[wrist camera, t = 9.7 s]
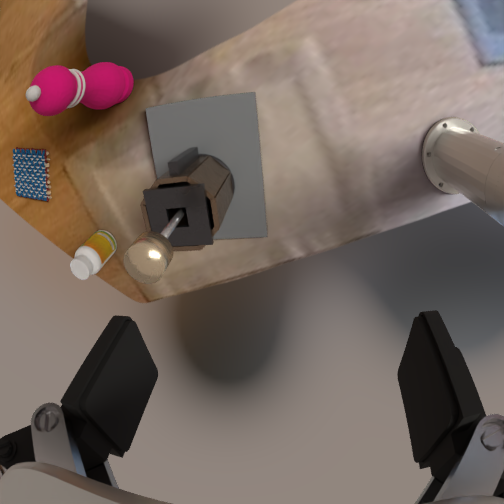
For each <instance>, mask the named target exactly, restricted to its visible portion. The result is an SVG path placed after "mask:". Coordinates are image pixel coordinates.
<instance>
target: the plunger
mask: <svg viewBox="0 0 504 504" xmlns="http://www.w3.org/2000/svg"><path fill="white" fill-rule="evenodd" d="M180 185H190V183H188V182H187V181H185V182H176V183H175V186H180ZM206 198H207V204H208V211H209V212H211V211H212V207H211V201H210V199H209V198H208V197H206ZM185 213H186V207H183V208H180V209H179V210H178V212H177V213H176V214H175V215H174V217H173V218H172V219H171V220H170V222H169V223H168V224H167V226H166V227H165V228H164V229H163V231H162V232H161V233H157V232H153V231H149V232H145V233H143V234H141V235H140V236H139V237H138V238H137V239H136V241H135V242H134V243H133V244H132V245H131V246H130V248H129V249H128V250H127V251H126V253H125V255H124V266H125V268H126V270H127V272H128V273H129V275H130V276H131V277H132V278H134V279H135V280H137V281H139V282H141V283H145V284H152V283H155V282H157V281H159V280H160V279H161V277H162V275H163V274H164V272H165V270H166V268H167V267H168V265H169V263H170V262H171V260H172V257H173V248H172V245H171V243H170V242H169V240H168V237H169V236H170V234H171V233H172V232H173V230H174V229H175V227H176V226H177V225H178V223H179V222H180V220H181V219H182V218H183V216H184V215H185Z"/></svg>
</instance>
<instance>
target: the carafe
mask: <svg viewBox="0 0 504 504" xmlns="http://www.w3.org/2000/svg"><path fill="white" fill-rule="evenodd" d="M168 168H169V171H167V172H166V173H165V174H163V175H162V176H161V177H160V178H158V179H157V180H156V181H155V182H154V184H153V185H152V187H151V188H150V189H145V190H144V191H143V194H144V199H143V201H142V202H141V209H142V213H143V217H144V221H145V225H146V229H147V232H149V231H153V232H157V233H161V232H162V231H163V229H164V228H165V227H166V226H167V224H168V223H169V222H170V220H171V219H172V218H173V217H174V215H175V214H176V213H177V212H178V210H179V209H180V208H183V207H186V213H185V215H184V216H183V218H182V219H181V220H180V222H179V223H178V225H177V226H176V227H175V229H174V230H173V232H172V233H171V234H170V236H169V237H168V240H169V242H170V243H171V245H172V248H173V251H192V250H201V249H203V247H204V246H205V245H213V236H214V235H215V234H216V232H217V231H218V230H219V229H220V226H221V224H222V222H223V219H224V217H225V215H226V212H227V210H228V208H229V205H230V203H231V201H232V199H233V195H234V191H235V182H234V178H233V175H232V173H231V171H230V169H229V168H228V166H227V165H226V164H225V163H224V162H223V161H221V160H220V159H218V158H217V157H215V156H212V155H208V154H199V153H198V147H192V148H188V149H187V150H185V151H184V152H182V153H181V154H179V155H178V156H176V157H175V158H173V159H172V160H170V161H169V162H168ZM185 181H187V182H188V183H190V185H180V186H175V183H176V182H185ZM206 197H208V198H209V199H210V201H211V207H212V211H211V212H209V211H208V204H207V198H206Z"/></svg>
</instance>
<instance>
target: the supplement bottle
mask: <svg viewBox="0 0 504 504" xmlns="http://www.w3.org/2000/svg"><path fill="white" fill-rule="evenodd" d="M116 249H117V243H116V240H115V238H114V237H113V235H112V234H111V233H109V232H108V231H105V230H99V231H97V232H95V233H94V234H93V235H92V236H91V237H90V238H89V239H88V240H87V241H86V242H85V243H84V244H83V245H82V246H80V247H79V248H78V249H77V251H76V253H75V258H74V259H73V260H72V261H71V263H70V268H71V271H72V273H73V274H74V275H75V276H76V277H77V278H79V279H81V280H85V279H87V278H88V277H89V276H90V275H93V274H96V273H97V272H98V271H99V270H100V269H101V268H102V267H103V266H104V265H105V263H106V262H107V261H108V260H109V259H110V258H111V256H112V255H113V254H114V253H115V251H116Z"/></svg>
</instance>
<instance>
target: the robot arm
mask: <svg viewBox="0 0 504 504" xmlns="http://www.w3.org/2000/svg"><path fill="white" fill-rule="evenodd" d="M427 153H428V154H427ZM426 154H427V155H426ZM422 162H423V167H424V170H425V173H426V175H427V177H428V178H429V180H430V182H431V183H432V184H433V185H434V186H435V187H437V188H438V189H439V190H441V191H443V192H445V193H449V194H459V193H461V194H462V195H464V196H465V197H466V198H468V199H469V200H470V201H472V202H473V203H474V204H476V205H477V206H479V207H480V208H481V209H483V211H485V212H486V213H487V214H489V215H490V216H491V217H492V218H494V219H495V220H496V221H497V222H499V223H500V224H501V225H503V226H504V143H502V142H499V141H496V140H494V139H491V138H488V137H486V136H483V135H480V133H479V132H478V130H477V129H476V128H475V127H474V126H473V125H472V124H471V123H470V122H468V121H466V120H464V119H461V118H456V117H449V118H445V119H442V120H440V121H439V122H437V123H436V124H435V125H434V126H433V127H432V128H431V129H430V130H429V132H428V133H427V136H426V138H425V140H424V144H423V149H422ZM157 377H158V370H157V368H156V366H155V364H154V362H153V359H152V358H151V355H150V353H149V351H148V349H147V347H146V345H145V343H144V340H143V338H142V336H141V333H140V331H139V329H138V327H137V324H136V323H135V322H134V321H133V320H132V319H131V318H130V317H128V316H113V317H112V319H111V320H110V322H109V323H108V325H107V326H106V328H105V329H104V331H103V332H102V334H101V335H100V337H99V338H98V340H97V342H96V343H95V345H94V347H93V348H92V349H91V351H90V353H89V354H88V356H87V357H86V359H85V361H84V362H83V364H82V366H81V367H80V369H79V371H78V372H77V374H76V375H75V377H74V379H73V381H72V382H71V384H70V386H69V387H68V389H67V391H66V393H65V394H64V396H63V398H62V399H61V403H62V406H61V407H60V406H59V405H57V404H55V403H46V404H43V405H41V406H40V407H39V408H38V409H36V411H35V412H34V414H33V416H32V419H31V425H29V426H27V427H25V428H22V429H20V430H18V431H16V432H13V433H10V434H8V435H5V436H4V437H2V438H1V439H0V504H171V503H167V502H163V501H158V500H155V499H151V498H147V497H144V496H141V495H137V494H134V493H131V492H127V491H124V490H121V489H119V487H118V485H117V482H116V480H115V478H114V475H113V472H112V470H111V467H110V464H109V462H108V459H107V458H108V456H109V453H110V454H112V455H116V456H119V457H123V455H124V453H125V452H127V451H128V450H129V448H130V446H131V443H132V440H133V438H134V436H135V433H136V430H137V428H138V425H139V423H140V420H141V417H142V415H143V413H144V410H145V407H146V405H147V403H148V400H149V398H150V395H151V393H152V390H153V388H154V385H155V383H156V381H157ZM398 381H399V386H400V390H401V395H402V399H403V404H404V408H405V413H406V418H407V423H408V428H409V433H410V439H411V445H412V451H413V457H414V461H415V462H416V463H418V462H419V465H420V469H422V468H426V467H430V468H431V474H432V478H431V479H430V481H429V483H428V484H427V486H426V488H425V489H424V491H423V492H422V493H421V495H420V497H419V498H418V499H417V501H416V502H415V504H504V416H502V415H499V414H492V415H491V414H490V415H488V416H486V414H485V411H484V409H483V406H482V403H481V400H480V397H479V395H478V392H477V389H476V387H475V384H474V382H473V379H472V377H471V374H470V372H469V369H468V367H467V365H466V362H465V360H464V358H463V356H462V353H461V352H460V350H459V349H458V348H457V347H455V346H454V343H453V341H452V339H451V337H450V335H449V333H448V331H447V328H446V326H445V324H444V322H443V320H442V318H441V316H440V314H439V312H438V311H426V312H420V314H419V316H418V317H415V318H414V321H413V324H412V328H411V331H410V335H409V338H408V341H407V345H406V348H405V351H404V354H403V357H402V360H401V363H400V366H399V369H398Z"/></svg>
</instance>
